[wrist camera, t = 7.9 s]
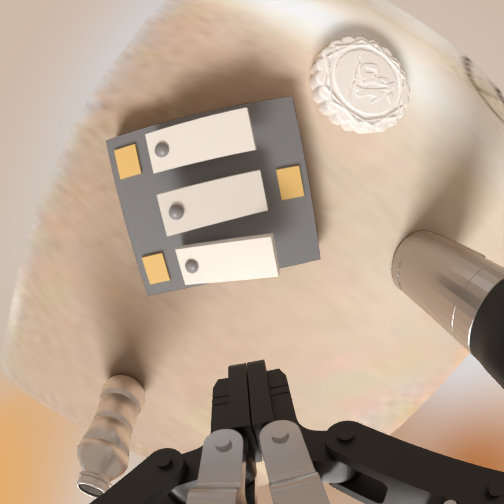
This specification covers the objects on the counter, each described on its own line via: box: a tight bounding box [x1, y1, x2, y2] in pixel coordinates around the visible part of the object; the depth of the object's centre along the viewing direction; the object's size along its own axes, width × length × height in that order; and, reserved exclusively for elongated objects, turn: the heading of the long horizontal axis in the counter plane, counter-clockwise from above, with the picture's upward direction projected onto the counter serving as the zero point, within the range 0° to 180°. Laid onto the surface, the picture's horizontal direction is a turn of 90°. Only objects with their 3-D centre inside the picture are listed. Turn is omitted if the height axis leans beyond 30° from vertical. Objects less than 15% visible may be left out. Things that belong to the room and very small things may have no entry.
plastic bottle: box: [77, 375, 145, 498], centre depth 32 cm, size 6×7×20 cm
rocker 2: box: [175, 233, 280, 285], centre depth 31 cm, size 10×4×1 cm, turn 102°
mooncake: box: [309, 36, 410, 134], centre depth 31 cm, size 12×12×4 cm
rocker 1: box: [145, 107, 257, 173], centre depth 28 cm, size 10×4×1 cm, turn 101°
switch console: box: [106, 97, 320, 296], centre depth 33 cm, size 20×18×4 cm
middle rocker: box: [157, 170, 268, 237], centre depth 30 cm, size 10×4×1 cm, turn 101°
